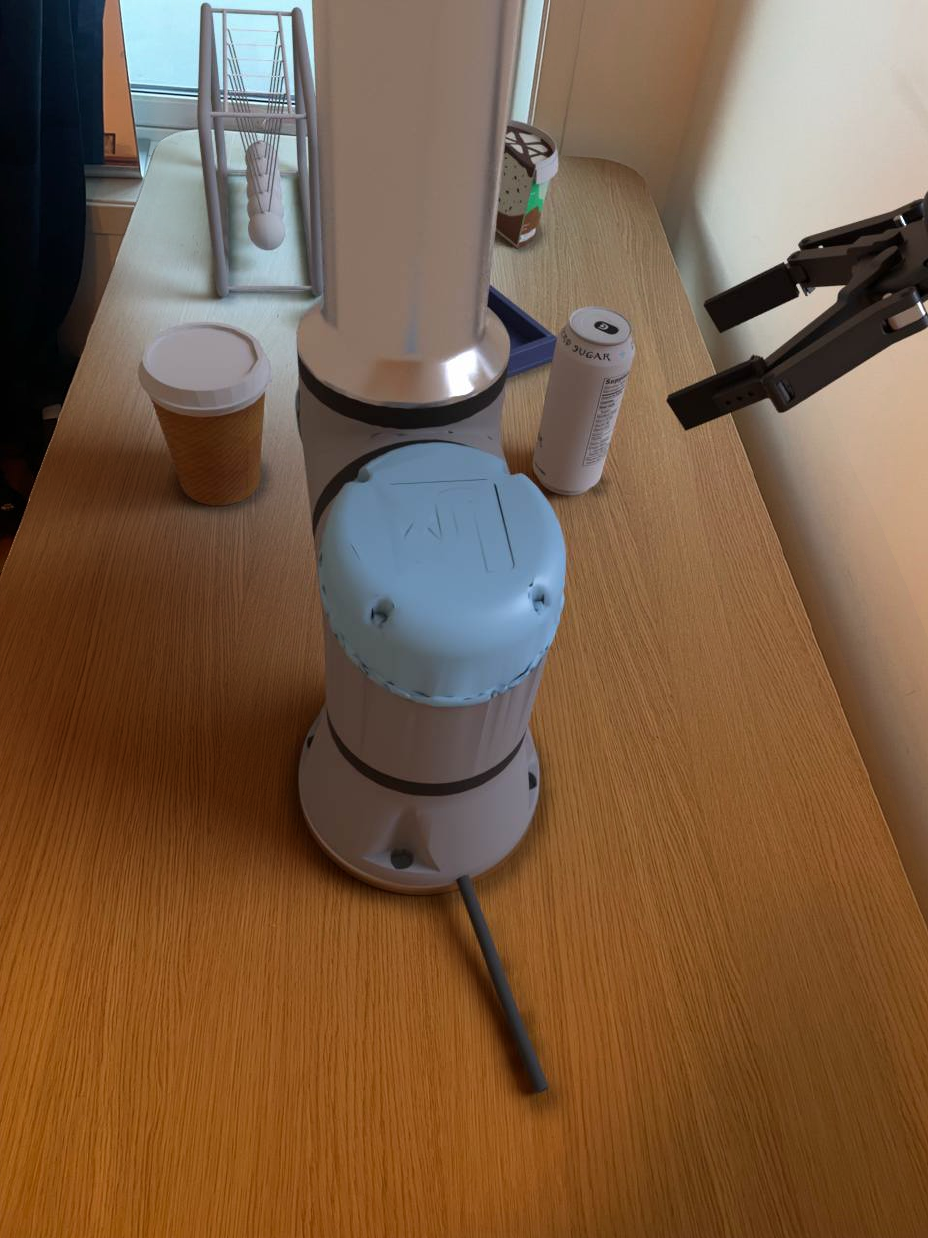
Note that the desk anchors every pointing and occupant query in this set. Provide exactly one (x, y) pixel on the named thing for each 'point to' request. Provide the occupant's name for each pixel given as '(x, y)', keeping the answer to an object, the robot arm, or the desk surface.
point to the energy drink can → (583, 399)
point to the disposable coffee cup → (209, 406)
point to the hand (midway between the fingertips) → (695, 362)
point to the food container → (524, 181)
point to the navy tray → (522, 335)
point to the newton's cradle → (258, 149)
